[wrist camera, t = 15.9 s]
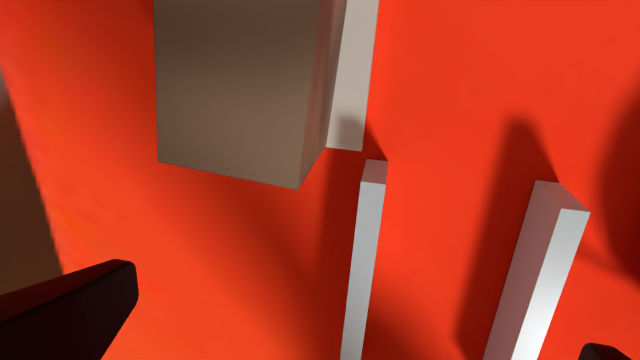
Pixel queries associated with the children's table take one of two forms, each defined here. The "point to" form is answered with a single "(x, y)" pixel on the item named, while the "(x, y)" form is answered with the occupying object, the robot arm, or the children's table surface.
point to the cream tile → (353, 76)
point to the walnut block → (246, 85)
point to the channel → (522, 280)
